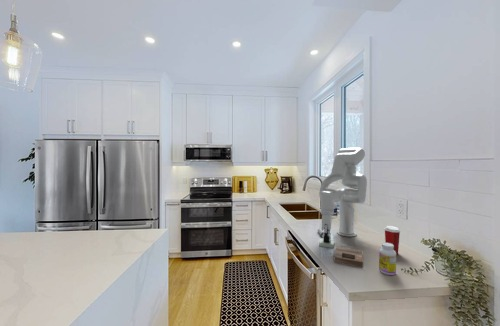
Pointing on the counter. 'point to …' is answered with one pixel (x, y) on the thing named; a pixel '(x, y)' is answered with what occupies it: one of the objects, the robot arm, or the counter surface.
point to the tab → (327, 243)
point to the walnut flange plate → (348, 256)
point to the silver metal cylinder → (329, 237)
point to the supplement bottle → (387, 259)
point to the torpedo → (320, 231)
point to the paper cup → (392, 236)
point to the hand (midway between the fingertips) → (326, 240)
